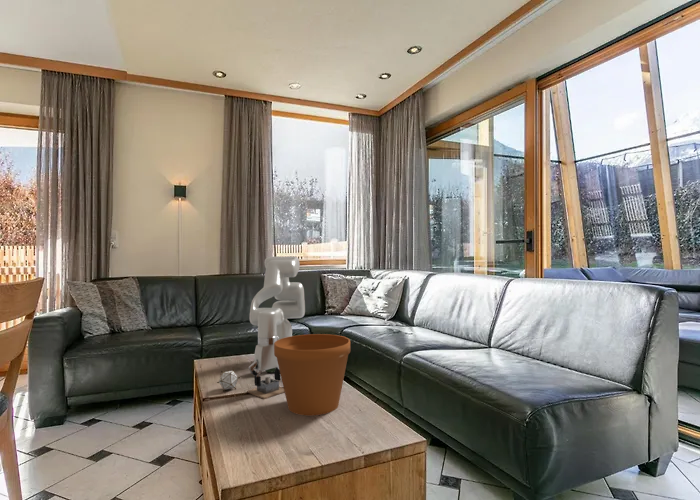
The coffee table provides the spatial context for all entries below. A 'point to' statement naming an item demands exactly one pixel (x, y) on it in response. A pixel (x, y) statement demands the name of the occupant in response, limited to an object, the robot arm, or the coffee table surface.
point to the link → (268, 386)
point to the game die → (228, 380)
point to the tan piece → (263, 395)
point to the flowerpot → (312, 371)
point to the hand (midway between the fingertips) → (267, 382)
